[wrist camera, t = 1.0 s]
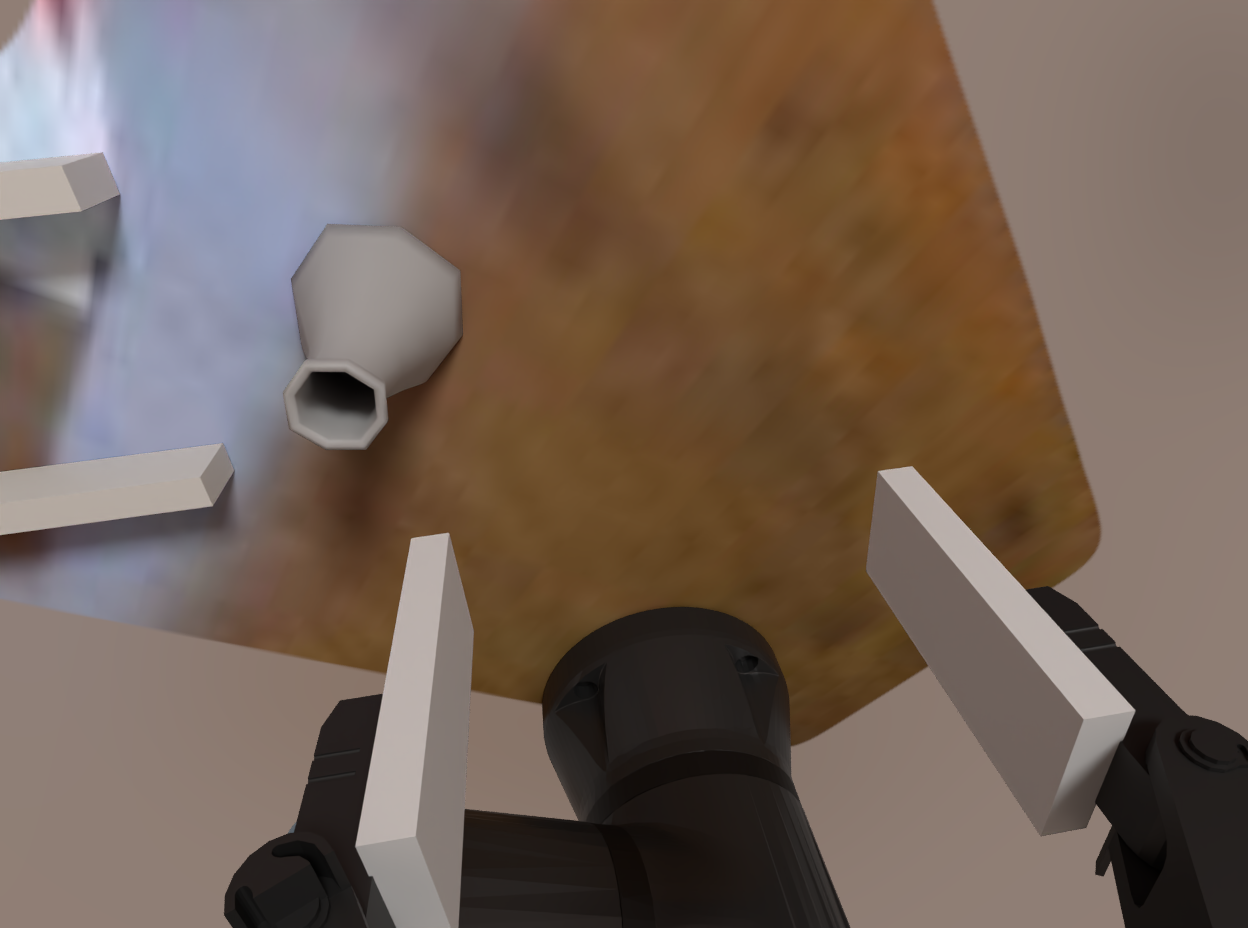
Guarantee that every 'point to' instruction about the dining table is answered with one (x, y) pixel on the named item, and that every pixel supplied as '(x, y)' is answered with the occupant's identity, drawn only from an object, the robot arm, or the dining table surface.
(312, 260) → the flask
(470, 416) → the dining table surface
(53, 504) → the white u-shaped stand
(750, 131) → the dining table surface
